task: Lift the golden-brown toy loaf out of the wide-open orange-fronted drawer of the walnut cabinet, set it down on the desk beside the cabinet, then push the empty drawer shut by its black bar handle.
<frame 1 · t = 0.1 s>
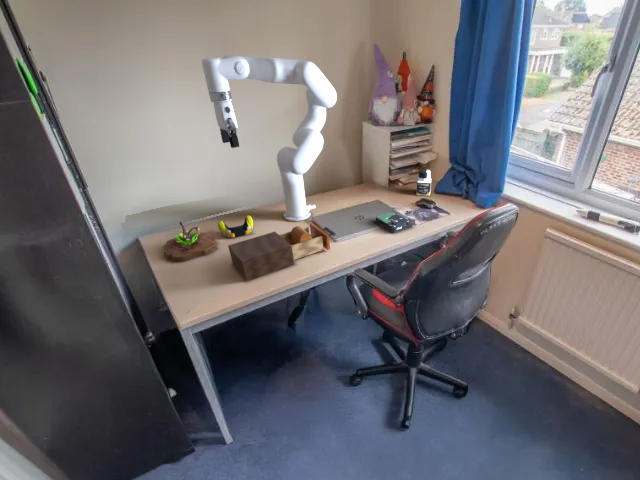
hand: (231, 144, 150), 37 cm above the table, tool pointing down, fingers open, 9 cm apart
plant: (190, 248, 157), on the table
disk drive: (393, 225, 171), on the table
cabinet: (263, 264, 145), on the table
gaming controller: (238, 233, 168), on the table
brown rounded block: (302, 246, 152), point 2 cm above the table, touching drawer
drawer: (307, 240, 151), point 4 cm above the table, slide at 15.0 cm, touching brown rounded block
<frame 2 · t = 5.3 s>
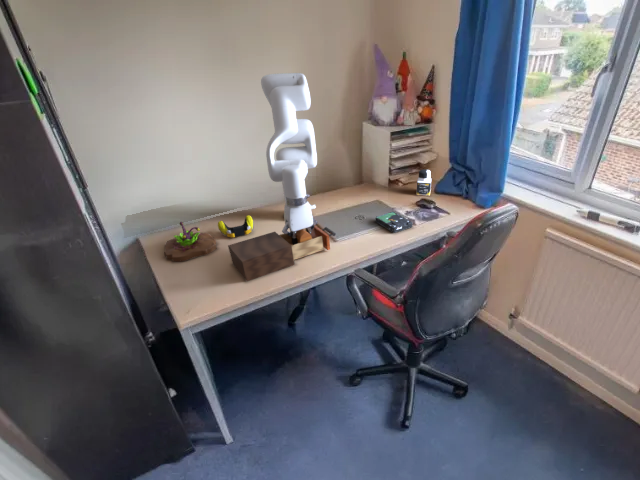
hand: (302, 243, 151), 4 cm above the table, tool pointing down, fingers closed on brown rounded block, 5 cm apart
brown rounded block: (302, 246, 152), point 2 cm above the table, touching drawer, gripper
everything else where it was.
when the fingers open (1 cm above the table, at t = 12.9 s): brown rounded block stays where it is, on the table.
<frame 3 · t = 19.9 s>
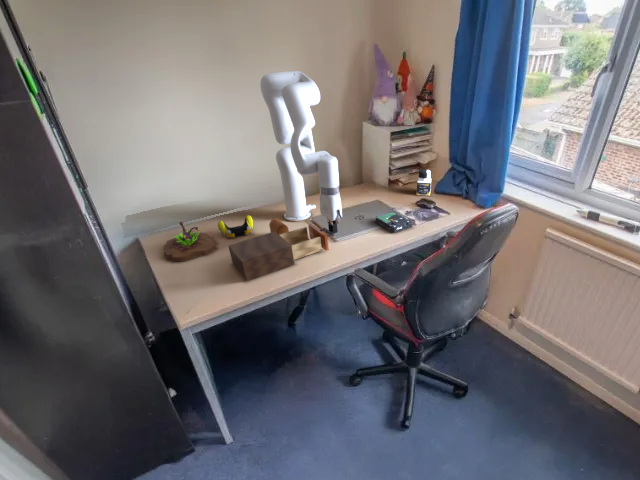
hand: (333, 232, 157), 4 cm above the table, tool pointing down, fingers closed
brown rounded block: (280, 237, 163), on the table
drawer: (305, 241, 151), point 4 cm above the table, slide at 14.3 cm, touching gripper
everything else where it was.
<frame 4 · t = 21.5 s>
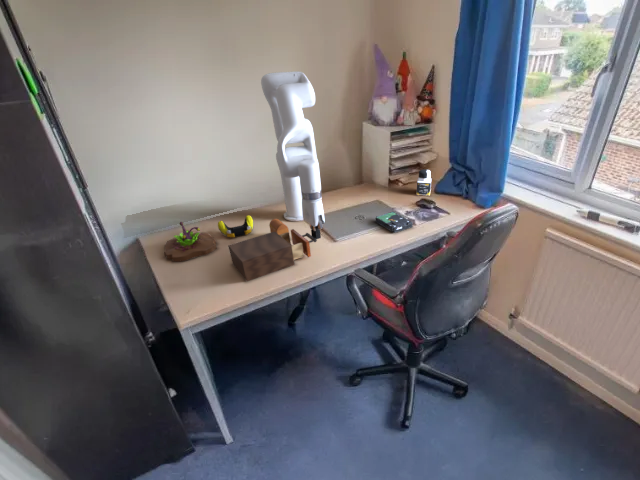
hand: (316, 238, 153), 4 cm above the table, tool pointing down, fingers closed
drawer: (287, 246, 147), point 4 cm above the table, slide at 6.3 cm, touching gripper
everything else where it was.
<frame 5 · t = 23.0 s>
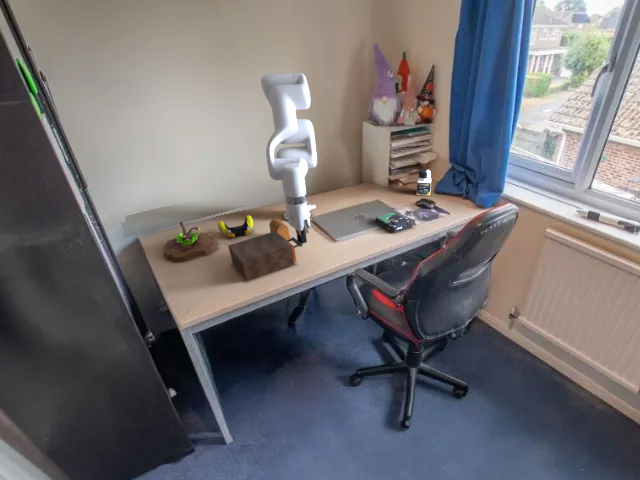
hand: (302, 242, 150), 4 cm above the table, tool pointing down, fingers closed
drawer: (272, 251, 144), point 4 cm above the table, slide at 0.0 cm, touching cabinet, gripper
everything else where it was.
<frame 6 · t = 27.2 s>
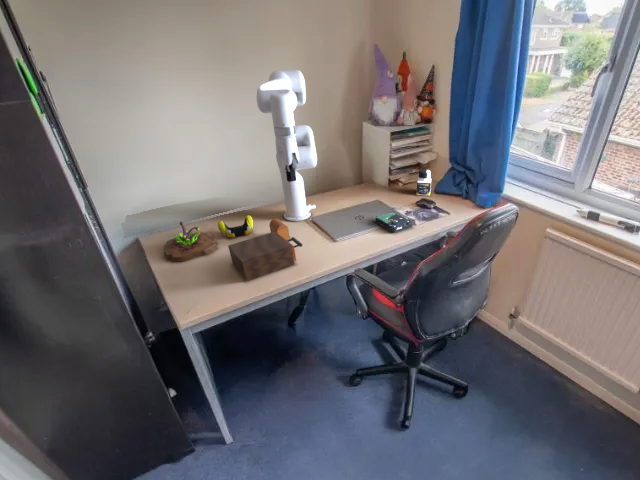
hand: (291, 180, 148), 25 cm above the table, tool pointing down, fingers closed
drawer: (272, 251, 144), point 4 cm above the table, slide at 0.0 cm, touching cabinet
everything else where it was.
at the end: brown rounded block inside the target area (0.4 cm from its centre), on the table; brown rounded block tilted 0°; drawer slide at 0.0 cm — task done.
